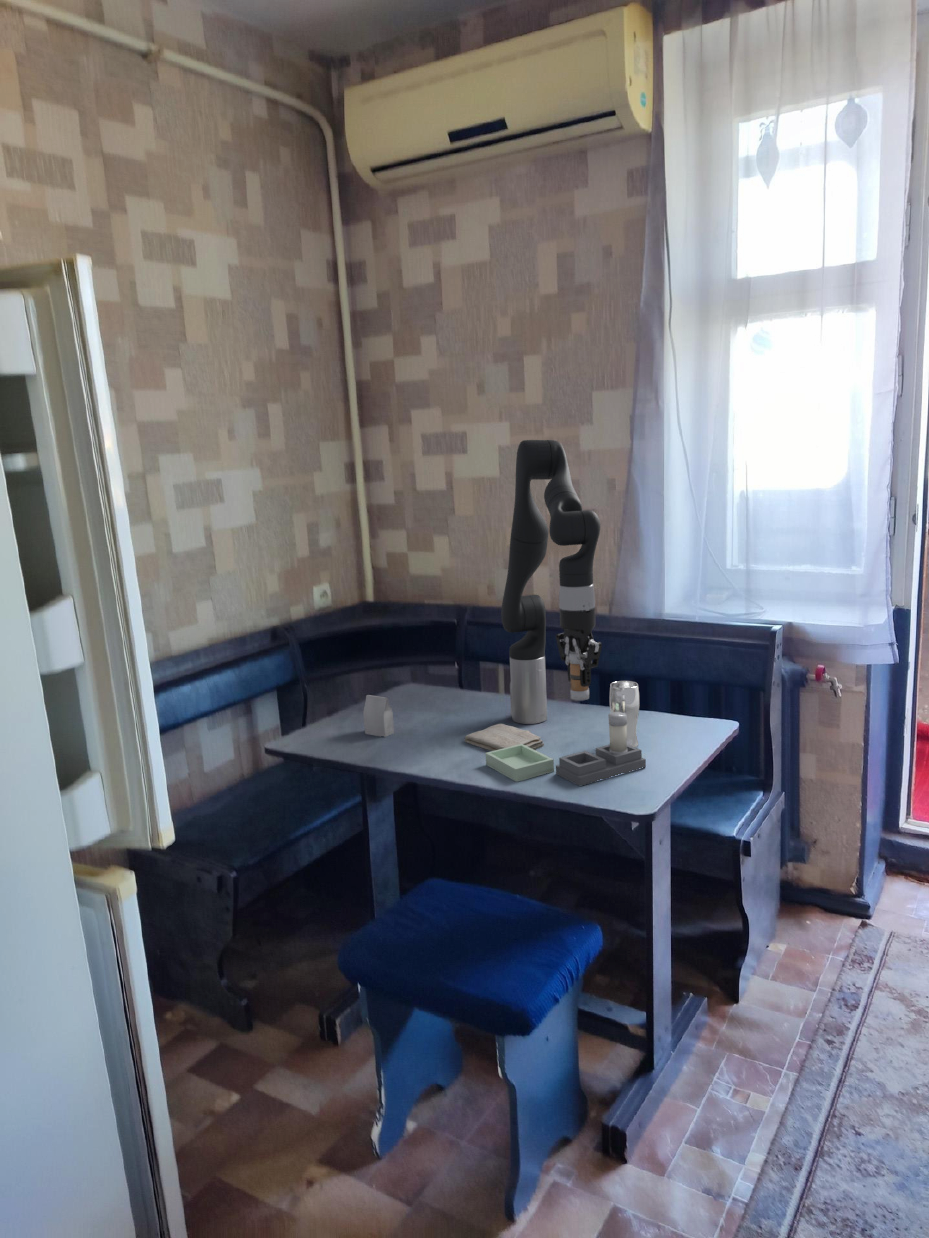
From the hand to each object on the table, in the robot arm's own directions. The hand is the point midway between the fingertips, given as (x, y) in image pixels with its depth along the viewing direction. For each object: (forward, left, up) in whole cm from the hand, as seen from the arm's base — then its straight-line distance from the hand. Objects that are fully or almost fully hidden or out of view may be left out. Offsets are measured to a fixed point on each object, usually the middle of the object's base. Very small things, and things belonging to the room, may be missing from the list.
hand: (579, 683), depth 195 cm
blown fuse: (0, 0, -3) cm, 3 cm away
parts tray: (-12, -9, -21) cm, 26 cm away
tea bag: (-56, -24, -21) cm, 64 cm away
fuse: (0, +10, -19) cm, 22 cm away
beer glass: (-10, +20, -21) cm, 31 cm away
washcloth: (-29, -3, -22) cm, 36 cm away
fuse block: (0, +5, -21) cm, 22 cm away
